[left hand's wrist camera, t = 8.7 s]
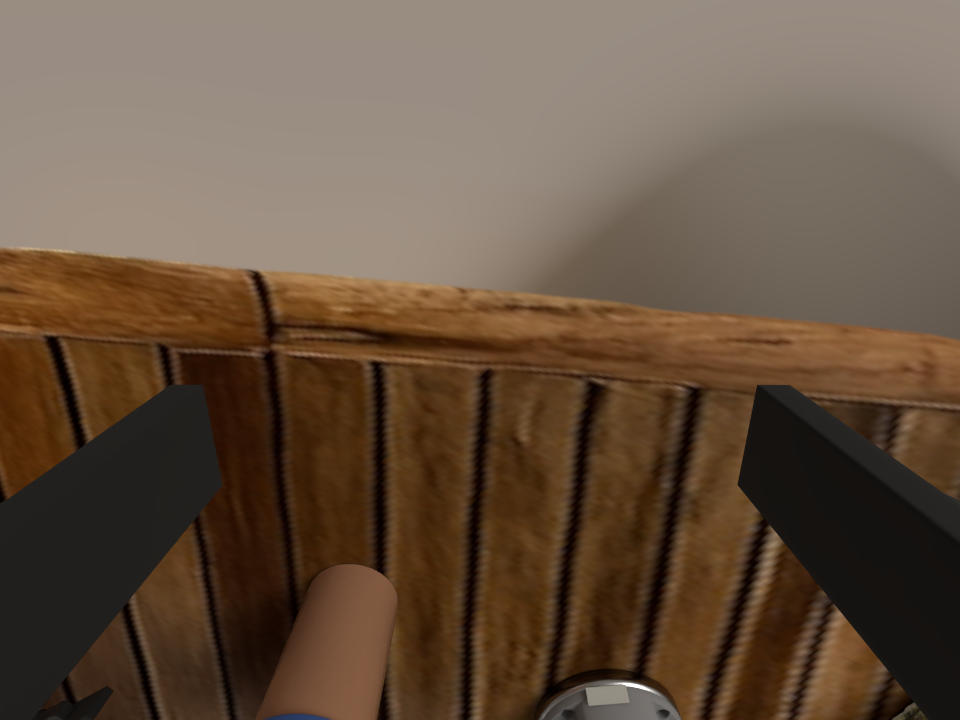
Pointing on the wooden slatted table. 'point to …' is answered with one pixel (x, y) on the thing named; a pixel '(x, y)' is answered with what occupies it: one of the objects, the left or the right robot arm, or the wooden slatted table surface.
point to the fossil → (911, 714)
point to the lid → (296, 717)
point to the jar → (336, 648)
